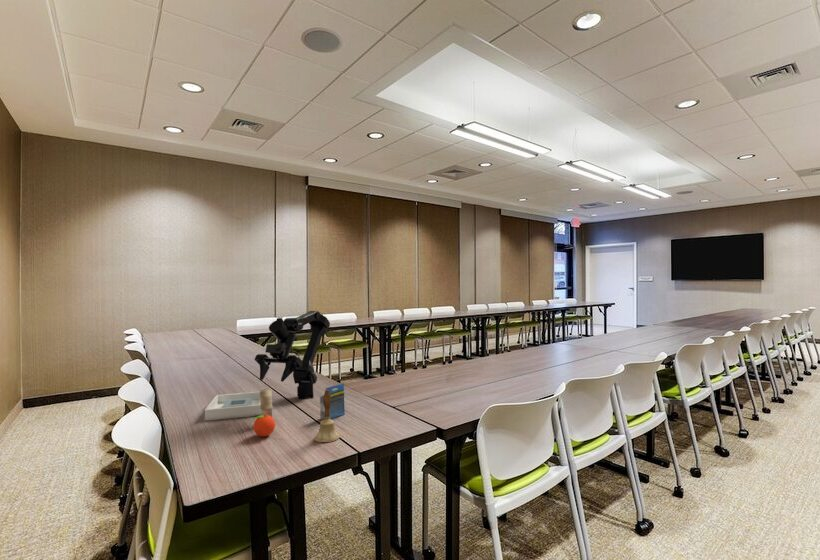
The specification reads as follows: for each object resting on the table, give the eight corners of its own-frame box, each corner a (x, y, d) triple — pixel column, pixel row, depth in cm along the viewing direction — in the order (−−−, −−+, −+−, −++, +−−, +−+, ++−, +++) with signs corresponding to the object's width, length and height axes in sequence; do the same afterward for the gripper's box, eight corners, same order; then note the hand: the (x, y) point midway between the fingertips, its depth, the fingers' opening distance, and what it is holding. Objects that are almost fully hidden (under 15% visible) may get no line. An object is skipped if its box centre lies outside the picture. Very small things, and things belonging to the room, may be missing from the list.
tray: (266, 400, 173) (266, 391, 173) (261, 415, 154) (260, 405, 154) (216, 404, 168) (216, 395, 168) (204, 420, 149) (204, 410, 149)
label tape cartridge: (338, 412, 156) (338, 381, 156) (345, 414, 153) (344, 383, 153) (320, 418, 149) (319, 386, 149) (326, 421, 146) (325, 388, 146)
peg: (272, 420, 148) (272, 389, 147) (271, 424, 144) (271, 391, 144) (261, 422, 146) (260, 389, 146) (260, 425, 143) (259, 392, 143)
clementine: (249, 441, 129) (248, 420, 129) (251, 433, 136) (251, 413, 136) (274, 438, 131) (274, 417, 131) (275, 430, 138) (275, 410, 138)
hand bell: (329, 431, 137) (328, 385, 137) (345, 436, 132) (344, 389, 131) (309, 438, 130) (308, 390, 130) (325, 445, 125) (324, 395, 125)
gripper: (255, 334, 158) (239, 370, 149) (296, 335, 153) (283, 372, 144) (268, 348, 166) (254, 382, 157) (308, 349, 162) (296, 385, 152)
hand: (271, 380), depth 152 cm, fingers open, 9 cm apart
